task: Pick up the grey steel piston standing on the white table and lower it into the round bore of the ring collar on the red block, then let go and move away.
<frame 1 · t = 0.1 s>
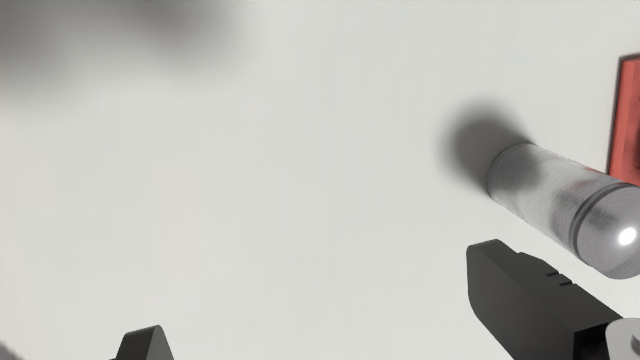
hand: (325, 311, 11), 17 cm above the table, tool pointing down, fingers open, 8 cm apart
piston: (517, 175, 31), on the table
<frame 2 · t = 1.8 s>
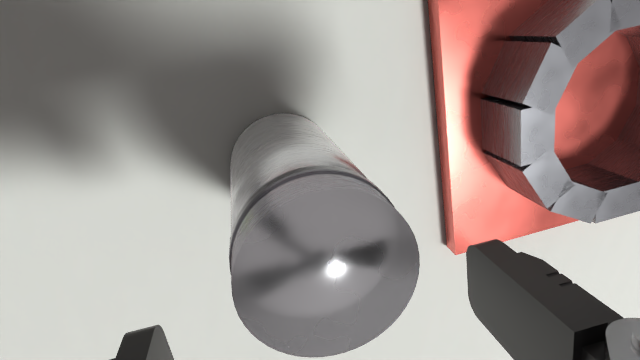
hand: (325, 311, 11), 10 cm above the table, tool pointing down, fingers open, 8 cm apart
collar: (561, 98, 22), on the table
piston: (283, 164, 20), on the table
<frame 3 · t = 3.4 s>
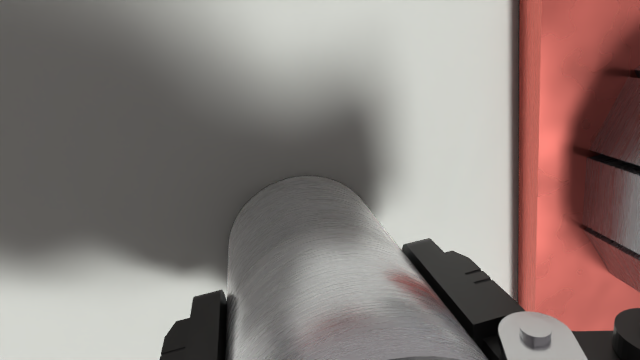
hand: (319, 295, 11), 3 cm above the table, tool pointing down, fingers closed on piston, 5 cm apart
piston: (304, 246, 14), on the table, touching gripper
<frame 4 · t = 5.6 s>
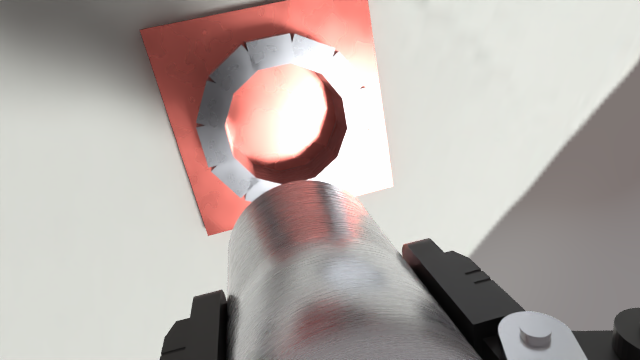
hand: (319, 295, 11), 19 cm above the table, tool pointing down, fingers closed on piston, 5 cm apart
collar: (280, 115, 29), on the table
piston: (303, 250, 14), point 16 cm above the table, touching gripper
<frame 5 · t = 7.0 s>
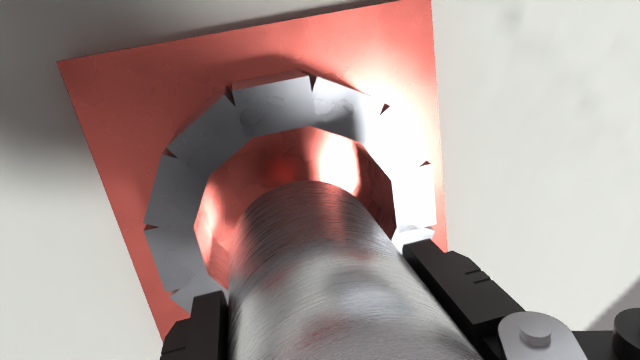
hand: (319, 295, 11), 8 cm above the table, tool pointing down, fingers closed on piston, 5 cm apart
collar: (287, 189, 19), on the table
piston: (304, 250, 14), point 5 cm above the table, touching gripper
when the fingers open (6 cm above the table, at t = 8.1 s): piston drops 2 cm, resting on collar.
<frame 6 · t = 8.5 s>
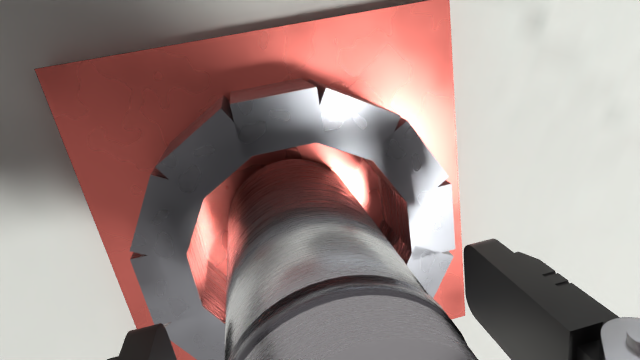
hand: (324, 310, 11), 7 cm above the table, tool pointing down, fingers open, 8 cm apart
collar: (290, 207, 17), on the table
piston: (293, 220, 16), point 1 cm above the table, touching collar
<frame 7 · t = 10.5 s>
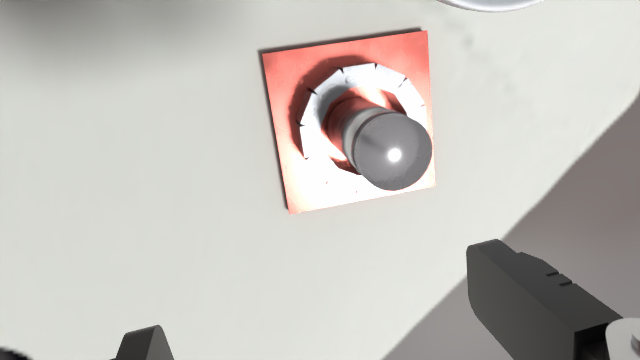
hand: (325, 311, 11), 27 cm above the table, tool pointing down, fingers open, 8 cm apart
collar: (353, 123, 37), on the table
piston: (355, 126, 36), point 1 cm above the table, touching collar
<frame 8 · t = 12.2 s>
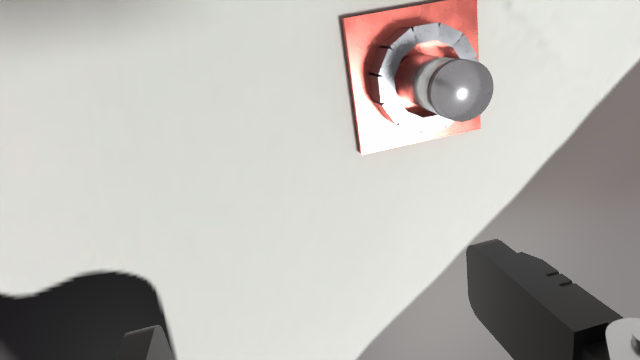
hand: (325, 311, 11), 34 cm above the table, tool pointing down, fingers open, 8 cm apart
collar: (413, 76, 45), on the table
piston: (417, 78, 44), point 1 cm above the table, touching collar
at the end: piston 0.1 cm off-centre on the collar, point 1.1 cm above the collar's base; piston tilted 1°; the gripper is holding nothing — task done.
